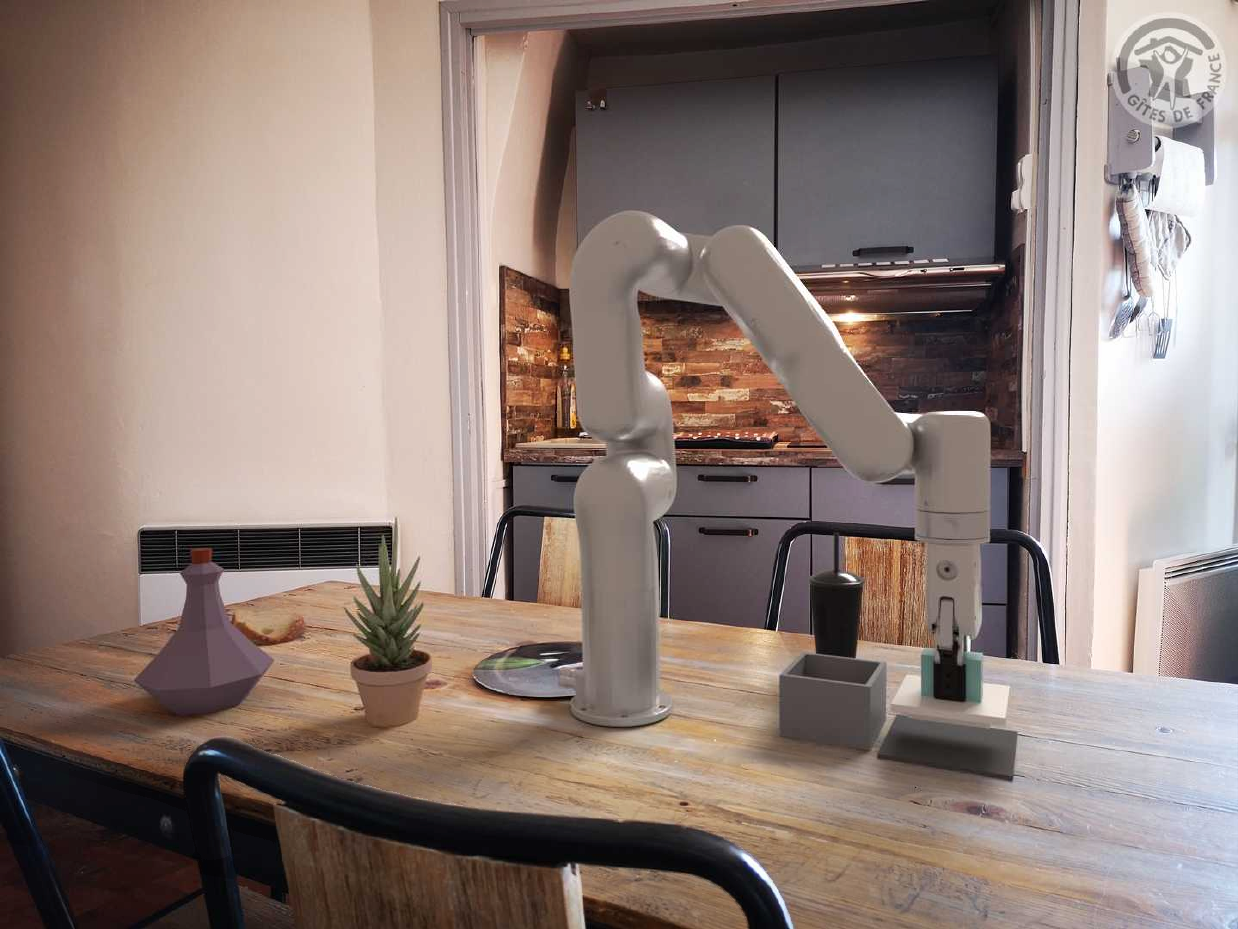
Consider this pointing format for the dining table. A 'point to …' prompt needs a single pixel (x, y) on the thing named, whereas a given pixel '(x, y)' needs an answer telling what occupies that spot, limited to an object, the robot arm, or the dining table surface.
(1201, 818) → the dining table surface
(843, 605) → the drinking cup
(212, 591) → the flask
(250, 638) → the slice of bread
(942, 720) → the lid
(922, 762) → the mat
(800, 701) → the storage box
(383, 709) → the potted plant
